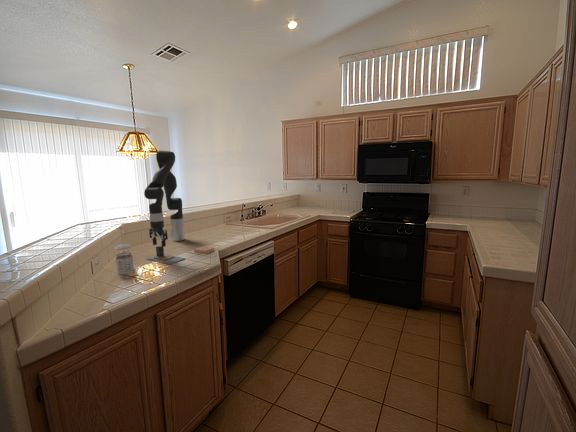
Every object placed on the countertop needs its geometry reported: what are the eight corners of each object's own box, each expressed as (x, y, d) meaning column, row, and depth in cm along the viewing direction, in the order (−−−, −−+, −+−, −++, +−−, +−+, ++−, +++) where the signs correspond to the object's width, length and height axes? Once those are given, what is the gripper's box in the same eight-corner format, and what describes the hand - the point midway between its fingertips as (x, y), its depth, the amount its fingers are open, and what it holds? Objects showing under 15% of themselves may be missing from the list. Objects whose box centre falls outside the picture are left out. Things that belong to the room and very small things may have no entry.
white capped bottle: (131, 266, 160) (126, 224, 156) (140, 271, 153) (135, 226, 149) (112, 271, 152) (106, 227, 148) (120, 276, 145) (115, 229, 141)
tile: (194, 249, 186) (205, 250, 182) (202, 246, 193) (213, 247, 189) (194, 252, 187) (205, 254, 182) (202, 249, 194) (214, 251, 189)
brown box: (154, 258, 173) (152, 247, 172) (163, 255, 179) (162, 245, 178) (164, 260, 168) (163, 249, 167) (174, 257, 174) (173, 247, 173)
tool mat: (146, 259, 173) (146, 258, 173) (162, 254, 183) (162, 253, 183) (169, 264, 162) (169, 263, 162) (185, 259, 172) (185, 258, 172)
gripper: (169, 220, 171) (172, 245, 174) (155, 218, 178) (157, 242, 181) (158, 222, 164) (161, 248, 167) (144, 220, 171) (146, 245, 174)
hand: (159, 245), depth 174 cm, fingers open, 8 cm apart
